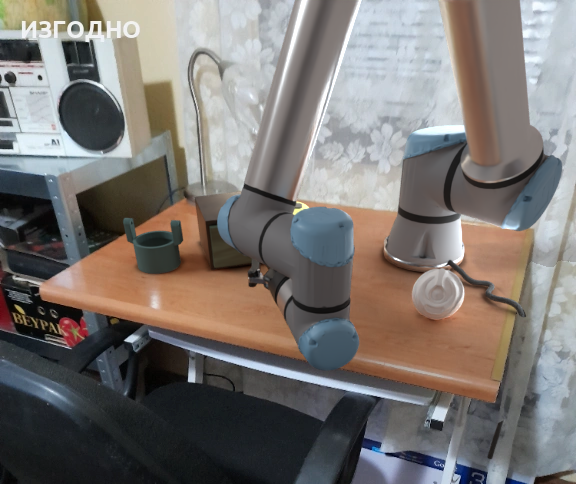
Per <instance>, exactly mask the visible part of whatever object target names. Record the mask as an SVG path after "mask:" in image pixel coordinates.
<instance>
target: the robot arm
mask: <svg viewBox="0 0 576 484" xmlns="http://www.w3.org/2000/svg"><path fill="white" fill-rule="evenodd" d="M361 2H362V0H294V2H293V4H292V9H291V13H290V16H289V19H288V23H287V27H286V30H285V34H284V38H283V42H282V44H281V49H280V52H279V56H278V59H277V62H276V66H275V69H274V73H273V77H272V81H271V84H270V88H269V92H268V95H267V98H266V102H265V106H264V110H263V113H262V116H261V120H260V123H259V127H258V131H257V135H256V138H255V142H254V145H253V149H252V152H251V156H250V159H249V163H248V167H247V170H246V173H245V177H244V181H243V186H242V188H241V191H240V192H241V194H238V195H234V196H232V197H230V198H229V199H228V200H227V201H226V203H225V204H224V205H223V207H221V209H220V211H219V214H218V220H217V225H218V231H219V234H220V236H221V238H222V239H223V240H224V241H225V242H226V243H227V244H228V245H230V246H231V247H233V248H235V249H236V250H237V251H238V252H239V253H242V254H243V255H244V256H248V257H250V258H252V264H251V267H250V268H249V269H248V270H247V283H248V285H247V286H248V287H249V288H255V287H257V285H263V288H265V289H266V290H268V291H269V293H270V295H271V297H272V299H273V301H274V303H275V305H276V306H277V308H278V310H279V312H280V314H281V315H282V317H283V319H284V321H285V323H286V325H287V327H288V329H289V330H290V333H291V334H292V337H293V338H294V341H295V343H296V345H297V349H298V350H299V352H300V353H301V354H302V356H303V357H304V358H305V360H306V361H307V363H308V364H309V365H310V366H311V367H313V368H315V369H316V370H319V371H324V372H326V371H328V372H329V371H334V370H338V369H341V368H342V367H344V366H346V365H347V364H349V363H350V362H351V361H352V360H353V359H354V357H355V356H356V355H357V353H358V350H359V348H360V337H359V334H358V332H357V329H356V327H355V324H354V323H353V322H352V321H351V317H350V315H351V313H350V312H351V292H352V280H353V279H352V278H353V266H354V265H353V264H354V256H355V251H356V250H355V249H356V248H355V247H356V246H355V243H354V242H355V241H354V240H355V239H354V231H355V229H354V221H353V218H352V217H351V215H350V214H349V213H347V212H346V211H345V210H342V209H340V208H337V207H327V206H312V207H309V208H307V209H303V210H301V211H299V212H298V213H296V214H295V215H294V214H293V212H294V209H295V206H296V203H297V202H298V198H299V194H300V191H301V189H302V185H303V183H304V179H305V176H306V173H307V170H308V167H309V163H310V161H311V158H312V154H313V151H314V148H315V145H316V141H317V139H318V135H319V132H320V131H321V126H322V123H323V120H324V117H325V114H326V111H327V107H328V105H329V102H330V99H331V96H332V92H333V90H334V86H335V83H336V80H337V78H338V77H337V76H338V73H339V70H340V67H341V64H342V61H343V58H344V55H345V52H346V49H347V46H348V42H349V40H350V37H351V33H352V30H353V27H354V24H355V20H356V18H357V15H358V12H359V8H360V5H361ZM437 3H438V7H439V11H440V16H441V22H442V26H443V32H444V36H445V41H446V45H447V49H448V55H449V60H450V67H451V70H452V74H453V80H454V85H455V90H456V95H457V100H458V105H459V110H460V115H461V120H462V124H463V125H462V124H461V125H460V124H459V125H458V124H454V125H453V124H452V125H449V124H448V125H438V126H430V127H424V128H421V129H417V130H415V131H413V132H411V133H410V134H409V135H408V137H407V138H406V141H405V148H404V153H403V156H402V165H401V176H400V184H399V185H400V187H399V195H398V196H399V197H398V205H397V213H396V217H395V219H394V221H393V222H392V226H391V229H390V231H389V234H388V236H385V237H384V240H383V256H384V258H385V259H386V260H387V261H388V262H389V263H391V265H394V266H396V267H397V268H398V267H399V268H400V269H404V270H407V271H413V272H419V273H425V272H427V271H429V270H432V269H441V268H443V269H445V270H449V271H451V270H454V271H455V272H456V273H458V274H459V276H460V277H461V278H462V279H463V280H464V281H465V282H467V283H468V284H469V285H473V286H476V287H477V286H478V287H487V288H486V290H485V291H484V295H485V297H486V298H487V299H489V300H490V301H492V302H496V303H500V304H501V303H502V304H506V305H509V306H511V307H512V308H514V310H516V312H517V314H518V316H519V317H521V318H526V317H527V315H526V312H525V310H524V308H523V306H522V305H521V304H520V303H519V302H517V301H516V300H514V299H511V298H509V297H504V296H500V295H499V296H498V295H497V294H493V292H494V290H495V284H494V283H493V282H491V281H489V280H480V279H475V278H472V277H470V275H468V274H467V273H466V271H465V270H464V269H463V268H461V266H460V265H461V263H463V260H464V256H465V244H464V242H463V230H462V221H461V220H462V216H464V217H465V216H466V217H469V218H471V219H474V220H478V221H480V222H483V223H486V224H489V225H493V226H495V227H498V228H500V229H502V230H505V229H507V230H509V231H510V230H511V231H515V232H523V231H527V230H529V229H530V228H531V227H533V226H534V225H535V224H536V223H537V222H538V220H540V218H541V217H542V216H543V215H544V213H545V211H546V210H547V208H548V206H549V205H550V203H551V201H552V200H553V198H554V196H555V193H556V191H557V190H558V187H559V184H560V181H561V179H562V173H563V162H562V161H563V160H561V159H560V158H559V157H556V156H555V155H554V154H550V155H548V154H545V151H544V149H545V148H544V139H543V136H542V134H541V132H540V130H539V129H537V128H536V126H534V125H531V119H530V108H529V107H530V106H529V95H528V94H529V93H528V83H527V70H526V59H525V47H524V35H523V34H524V33H523V22H522V21H523V20H522V9H521V8H522V7H521V0H437ZM296 201H297V202H296ZM261 264H263V265H265V267H266V268H267V271H266V272H265V274H264V275H263V272H261ZM505 421H506V419H503V420H501V421H499V422H497V425H496V427H495V431H494V433H493V436H492V440H491V443H490V446H489V449H488V452H487V453H488V454H487V460H492V459H493V457H494V454H495V451H496V448H497V444H498V441H499V438H500V435H501V433H502V429H503V426H504V424H505Z"/></svg>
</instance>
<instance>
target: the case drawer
mask: <svg viewBox="0 0 576 484" xmlns="http://www.w3.org/2000/svg"><path fill="white" fill-rule="evenodd" d="M209 228H210V237H211V246H212V255H213V264H214V267H215V268H218V267H225V266H232V265H240V264H247V263H252V258H250V257H248V256H244V255H243V254H242V253H239V252H238V251H237V250H236V249H235V248H233V247H231V246H230V245H228V244H227V243H226V242H225V241H224V240H223V239H222V238H221V236H220V234H219V231H218V225H217V224H212V225H210V226H209Z"/></svg>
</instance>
